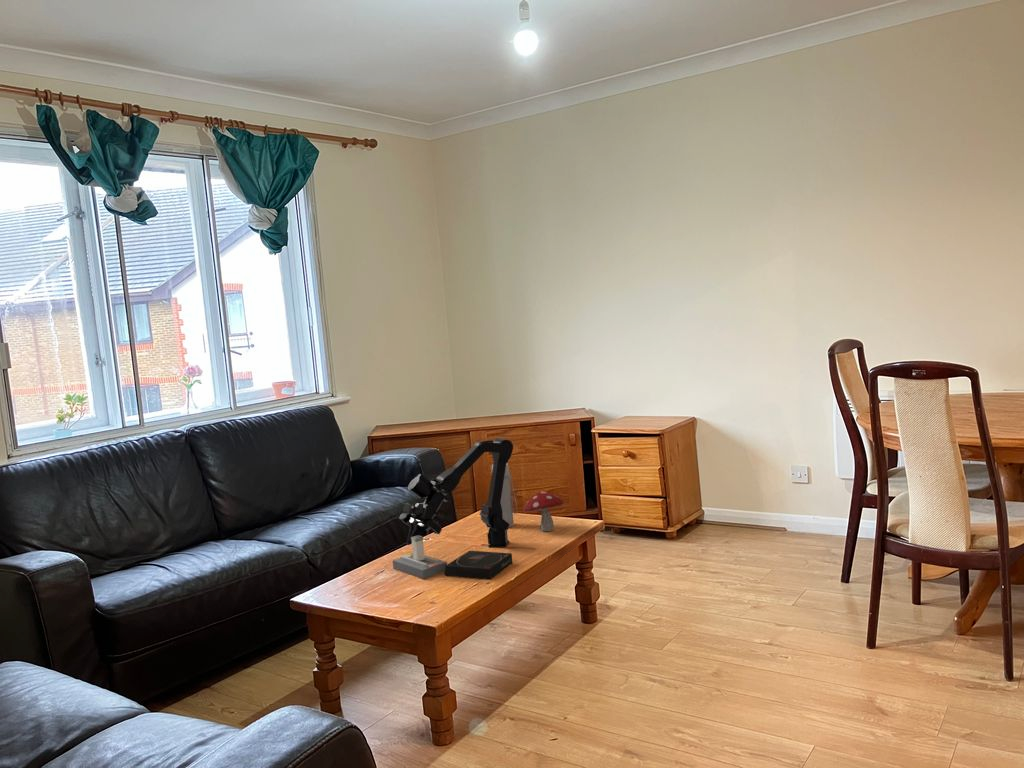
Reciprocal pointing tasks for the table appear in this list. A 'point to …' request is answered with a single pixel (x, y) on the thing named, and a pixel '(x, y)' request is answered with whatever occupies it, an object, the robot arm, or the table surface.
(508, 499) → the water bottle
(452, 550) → the table surface
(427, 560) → the breaker housing
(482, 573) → the portable cd player
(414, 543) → the breaker handle
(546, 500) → the decorative mushroom
